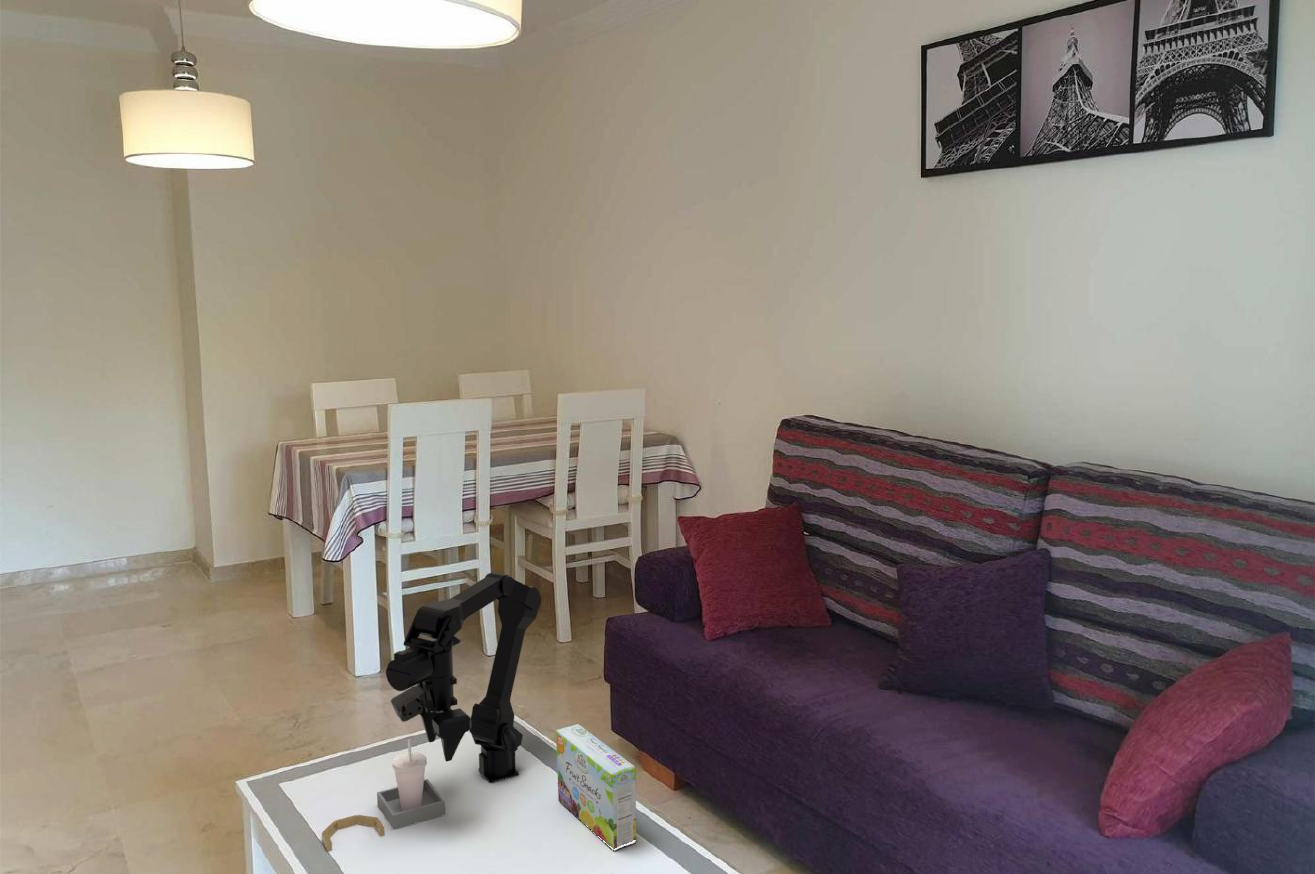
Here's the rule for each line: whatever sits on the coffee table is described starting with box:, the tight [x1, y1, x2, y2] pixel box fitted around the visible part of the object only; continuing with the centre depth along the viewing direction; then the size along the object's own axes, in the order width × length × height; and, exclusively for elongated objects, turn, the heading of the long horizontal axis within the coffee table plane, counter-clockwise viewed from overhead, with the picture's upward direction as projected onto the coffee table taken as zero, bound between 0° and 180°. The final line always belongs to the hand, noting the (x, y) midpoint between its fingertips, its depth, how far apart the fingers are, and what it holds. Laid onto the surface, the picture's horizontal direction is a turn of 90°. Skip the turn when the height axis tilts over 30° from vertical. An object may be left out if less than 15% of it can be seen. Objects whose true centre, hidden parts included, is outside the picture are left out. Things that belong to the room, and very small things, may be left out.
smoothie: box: [391, 738, 428, 811], centre depth 191 cm, size 6×6×14 cm
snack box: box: [555, 723, 637, 849], centre depth 187 cm, size 21×6×15 cm, turn 34°
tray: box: [376, 778, 447, 830], centre depth 192 cm, size 10×10×3 cm
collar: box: [321, 814, 386, 852], centre depth 184 cm, size 10×7×2 cm
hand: (439, 750), depth 190 cm, fingers open, 9 cm apart
